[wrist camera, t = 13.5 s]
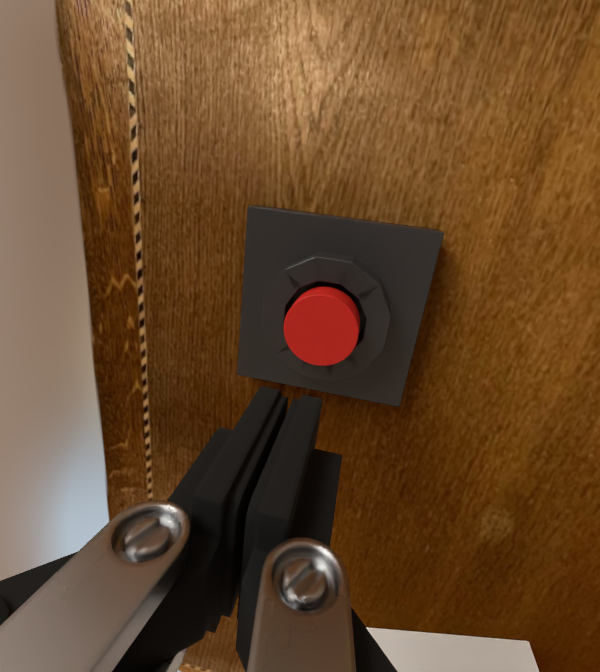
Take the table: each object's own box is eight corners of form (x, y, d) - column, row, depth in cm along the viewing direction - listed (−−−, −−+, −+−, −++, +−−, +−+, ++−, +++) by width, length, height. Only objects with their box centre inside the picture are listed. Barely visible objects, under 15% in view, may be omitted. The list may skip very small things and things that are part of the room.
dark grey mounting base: (245, 363, 24) (226, 388, 21) (256, 205, 21) (235, 206, 17) (397, 393, 23) (401, 425, 20) (438, 229, 19) (451, 235, 16)
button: (287, 345, 20) (279, 358, 18) (294, 281, 19) (287, 288, 17) (353, 358, 19) (351, 372, 18) (366, 292, 18) (365, 301, 16)
